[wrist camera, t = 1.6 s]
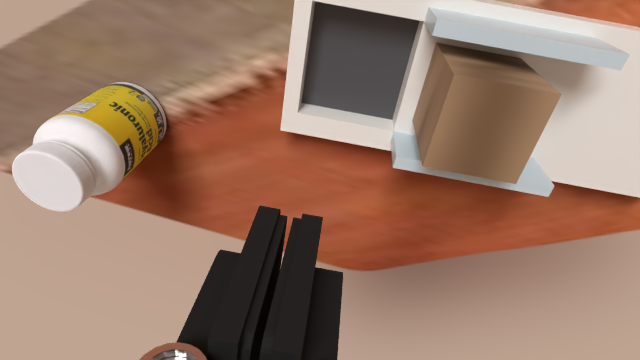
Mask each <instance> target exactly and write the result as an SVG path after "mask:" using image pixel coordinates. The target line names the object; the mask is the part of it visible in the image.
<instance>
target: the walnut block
mask: <svg viewBox="0 0 640 360" xmlns="http://www.w3.org/2000/svg"><path fill="white" fill-rule="evenodd" d="M561 95H562V94H561V93H560V92H558V91H557V90H556V89H555V88H554V87H553V86H552V85H551V84H549V83H548V82H547V81H546V80H545V79H544V78H543V77H541V76H540V75H539V74H538V73H537V72H536V71H535V70H534V69H532V68H531V67H530V66H529V65H528V64H527V63H526V62H525V61H523V60H522V59H521V58H518V57H512V56H507V55H502V54H496V53H491V52H485V51H480V50H475V49H469V48H464V47H458V46H453V45H448V44H442V43H437V42H436V44H435V48H434V51H433V54H432V58H431V61H430V64H429V67H428V71H427V74H426V77H425V80H424V84H423V87H422V90H421V94H420V97H419V100H418V103H417V107H416V110H415V113H414V116H413V125H414V130H415V134H416V139H417V144H418V148H419V153H420V158H421V162H422V167H428V168H433V169H438V170H444V171H449V172H454V173H460V174H465V175H470V176H476V177H481V178H486V179H492V180H497V181H502V182H508V183H513V184H516V183H517V181H518V179H519V177H520V175H521V173H522V172H523V170H524V168H525V166H526V164H527V162H528V160H529V158H530V156H531V154H532V152H533V150H534V148H535V146H536V144H537V142H538V140H539V138H540V136H541V134H542V132H543V130H544V128H545V126H546V124H547V122H548V120H549V118H550V117H551V115H552V113H553V111H554V109H555V107H556V105H557V103H558V101H559V99H560V97H561Z"/></svg>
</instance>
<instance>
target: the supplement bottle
mask: <svg viewBox="0 0 640 360" xmlns="http://www.w3.org/2000/svg"><path fill="white" fill-rule="evenodd" d="M165 131H166V117H165V114H164V111H163V109H162V107H161V105H160V104H159V102H158V101H157V100H156V98H155V97H154V96H153V95H152V94H151V93H149V92H148V91H147V90H145V89H144V88H142V87H140V86H138V85H135V84H132V83H127V82H117V83H112V84H110V85H107V86H105V87H103V88H102V89H100V90H98V91H96V92H95V93H93V94H91V95H90V96H88V97H86V98H84V99H83V100H81V101H79V102H78V103H76V104H74V105H73V106H71V107H69V108H68V109H66V110H64V111H63V112H61V113H59V114H58V115H56V116H54V117H53V118H51V119H49V120H48V121H46V122H45V123H44V124H43V125H41V126H40V128H39V129H38V130H37V132H36V134H35V136H34V140H33V145H32V146H31V147H29V148H28V149H26V150H25V151H24V152H22V153H21V154H19V155H18V156H17V157H16V158H15V160H14V162H13V164H12V174H13V177H14V180H15V182H16V184H17V186H18V187H19V189H20V190H21V191H22V192H23V193H24V194H25V195H26V196H27V197H28V198H29V199H30V200H32V201H33V202H35V203H36V204H38V205H40V206H42V207H44V208H47V209H49V210H53V211H61V212H63V211H69V210H73V209H75V208H77V207H78V206H79V205H80V204H82V202H84V201H85V200H86V199H87V198H89V197H90V196H94V195H100V194H103V193H106V192H108V191H110V190H112V189H113V188H114V187H116V186H117V185H118V184H119V183H120V182H121V181H122V180H123V179H124V178H125V177H126V176H127V175H128V174H129V173H130V172H131V171H132V170H133V169H134V168H135V167H136V166H137V165H138V164H139V163H140V162H141V161H142V160H143V159H144V158H145V157H146V156H147V155H148V154H149V153H150V152H151V151H152V150H153V149H154V148H155V147H156V146H157V145H158V143H159V142H160V141H161V140H162V138H163V136H164V134H165Z"/></svg>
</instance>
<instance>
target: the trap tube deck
mask: <svg viewBox="0 0 640 360" xmlns="http://www.w3.org/2000/svg"><path fill="white" fill-rule="evenodd" d="M436 42H437V43H442V44H448V45H453V46H458V47H464V48H469V49H475V50H480V51H485V52H491V53H496V54H502V55H507V56H512V57H518V58H521V59H522V60H523V61H525V62H526V63H527V64H528V65H529V66H530V67H531V68H532V69H534V70H535V71H536V72H537V73H538V74H539V75H540V76H541V77H543V78H544V79H545V80H546V81H547V82H548V83H549V84H551V85H552V86H553V87H554V88H555V89H556V90H557V91H558V92H560V93H561V94H562V95H561V97H560V99H559V101H558V103H557V105H556V107H555V109H554V111H553V113H552V115H551V117H550V118H549V120H548V122H547V124H546V126H545V128H544V130H543V132H542V134H541V136H540V138H539V140H538V142H537V144H536V146H535V148H534V150H533V152H532V154H531V156H530V158H529V160H528V162H527V164H526V166H525V168H524V170H523V172H522V173H521V175H520V177H519V179H518V181H517V183H516V184H513V183H508V182H502V181H497V180H492V179H486V178H481V177H476V176H470V175H465V174H460V173H454V172H449V171H444V170H438V169H433V168H428V167H422V162H421V158H420V153H419V148H418V144H417V139H416V134H415V130H414V125H413V116H414V113H415V110H416V107H417V103H418V100H419V97H420V94H421V90H422V87H423V84H424V80H425V77H426V74H427V71H428V67H429V64H430V61H431V58H432V54H433V51H434V48H435V44H436ZM281 130H282V131H287V132H293V133H298V134H303V135H309V136H314V137H319V138H325V139H330V140H335V141H340V142H346V143H351V144H356V145H362V146H367V147H372V148H378V149H383V150H388V151H391V153H392V163H393V168H397V169H403V170H408V171H413V172H418V173H424V174H429V175H434V176H440V177H445V178H450V179H456V180H461V181H466V182H472V183H477V184H482V185H488V186H493V187H498V188H504V189H509V190H514V191H520V192H525V193H530V194H536V195H541V196H546V197H549V195H550V193H551V191H552V190H553V188H554V184H553V183H552V182H551V181H554V182H559V183H564V184H570V185H575V186H580V187H586V188H591V189H596V190H602V191H607V192H612V193H618V194H623V195H628V196H634V197H639V198H640V27H635V26H630V25H624V24H619V23H613V22H608V21H602V20H597V19H592V18H586V17H581V16H575V15H570V14H565V13H559V12H554V11H548V10H543V9H538V8H532V7H527V6H521V5H516V4H510V3H505V2H500V1H494V0H295V3H294V12H293V22H292V31H291V40H290V49H289V58H288V67H287V76H286V85H285V94H284V103H283V112H282V121H281Z"/></svg>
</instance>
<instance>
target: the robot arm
mask: <svg viewBox="0 0 640 360" xmlns="http://www.w3.org/2000/svg"><path fill="white" fill-rule="evenodd" d="M322 220H323V217H319V216H313V215H308V214H302V219H299V218H293V222H292V226H291V230H290V234H289V237H288V241H287V245H286V249H285V253H284V257H283V261H282V265H281V260H282V253H283V245H284V238H285V231H286V224H287V216H283V215H280V209H276V208H270V207H265V206H259V208H258V211H257V213H256V216H255V219H254V221H253V224H252V226H251V229H250V231H249V234H248V237H247V239H246V242H245V244H244V247H243V249H242V252H241V253H235V252H230V251H225V250H220V251H219V252H218V254H217V256H216V258H215V260H214V262H213V264H212V266H211V268H210V271H209V273H208V275H207V277H206V279H205V282H204V284H203V286H202V288H201V290H200V292H199V294H198V297H197V299H196V301H195V303H194V305H193V307H192V310H191V312H190V314H189V316H188V318H187V321H186V323H185V325H184V327H183V329H182V331H181V334H180V336H179V338H178V340H177V342H176V343H167V344H164V345H161V346H158V347H155V348H154V349H152V350H151V351H149V352H148V353H146V354H145V355H143V356H142V358H141V359H140V360H337V353H338V339H339V325H340V309H341V297H342V282H343V272H338V271H333V270H326V269H322V268H316V267H315V265H316V259H317V252H318V246H319V239H320V233H321V226H322ZM280 267H281V269H280Z"/></svg>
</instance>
